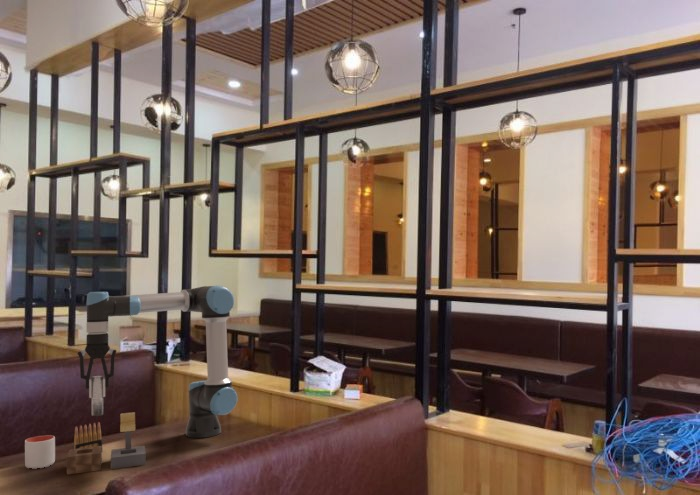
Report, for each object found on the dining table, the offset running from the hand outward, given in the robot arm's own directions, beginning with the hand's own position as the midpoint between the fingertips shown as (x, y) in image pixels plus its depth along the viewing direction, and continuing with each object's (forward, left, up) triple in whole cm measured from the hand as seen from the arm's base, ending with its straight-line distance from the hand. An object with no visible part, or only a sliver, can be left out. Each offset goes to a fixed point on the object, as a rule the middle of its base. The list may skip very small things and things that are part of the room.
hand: (97, 396), depth 224 cm
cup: (+21, -11, -26) cm, 35 cm away
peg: (0, 0, -7) cm, 7 cm away
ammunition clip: (+5, -19, -26) cm, 32 cm away
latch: (-10, +8, -11) cm, 17 cm away
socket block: (-10, 0, -25) cm, 27 cm away
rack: (+5, 0, -25) cm, 26 cm away
